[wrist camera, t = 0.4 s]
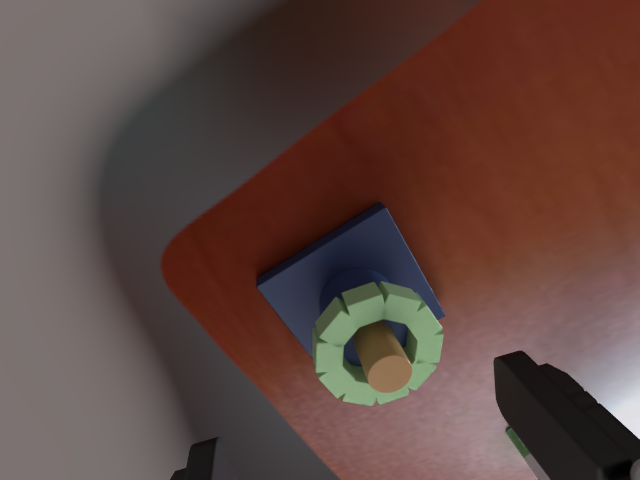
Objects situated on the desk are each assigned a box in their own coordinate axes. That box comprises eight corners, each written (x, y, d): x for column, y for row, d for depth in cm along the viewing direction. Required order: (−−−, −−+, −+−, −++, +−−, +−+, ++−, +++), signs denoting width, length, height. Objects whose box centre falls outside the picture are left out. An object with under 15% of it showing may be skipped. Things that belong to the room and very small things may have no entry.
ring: (294, 308, 20) (296, 323, 18) (420, 264, 20) (431, 276, 19) (330, 402, 22) (334, 421, 21) (442, 363, 22) (453, 379, 21)
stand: (256, 278, 24) (255, 360, 17) (380, 201, 24) (435, 251, 16) (328, 371, 28) (354, 474, 20) (438, 306, 27) (506, 387, 20)
